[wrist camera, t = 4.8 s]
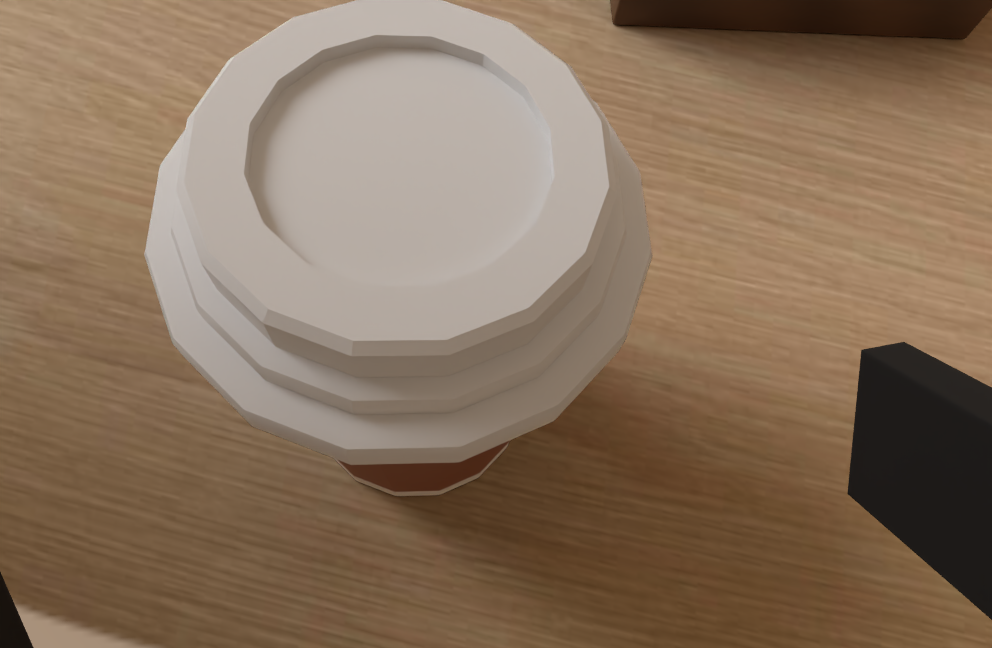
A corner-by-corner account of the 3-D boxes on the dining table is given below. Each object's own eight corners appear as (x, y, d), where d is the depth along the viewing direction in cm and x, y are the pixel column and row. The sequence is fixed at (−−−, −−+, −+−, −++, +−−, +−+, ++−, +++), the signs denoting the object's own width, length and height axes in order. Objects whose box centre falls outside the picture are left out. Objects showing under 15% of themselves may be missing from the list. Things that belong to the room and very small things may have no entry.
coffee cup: (454, 217, 25) (470, -113, 14) (623, 428, 23) (799, 220, 12) (211, 356, 23) (3, 79, 12) (371, 614, 20) (294, 568, 9)
